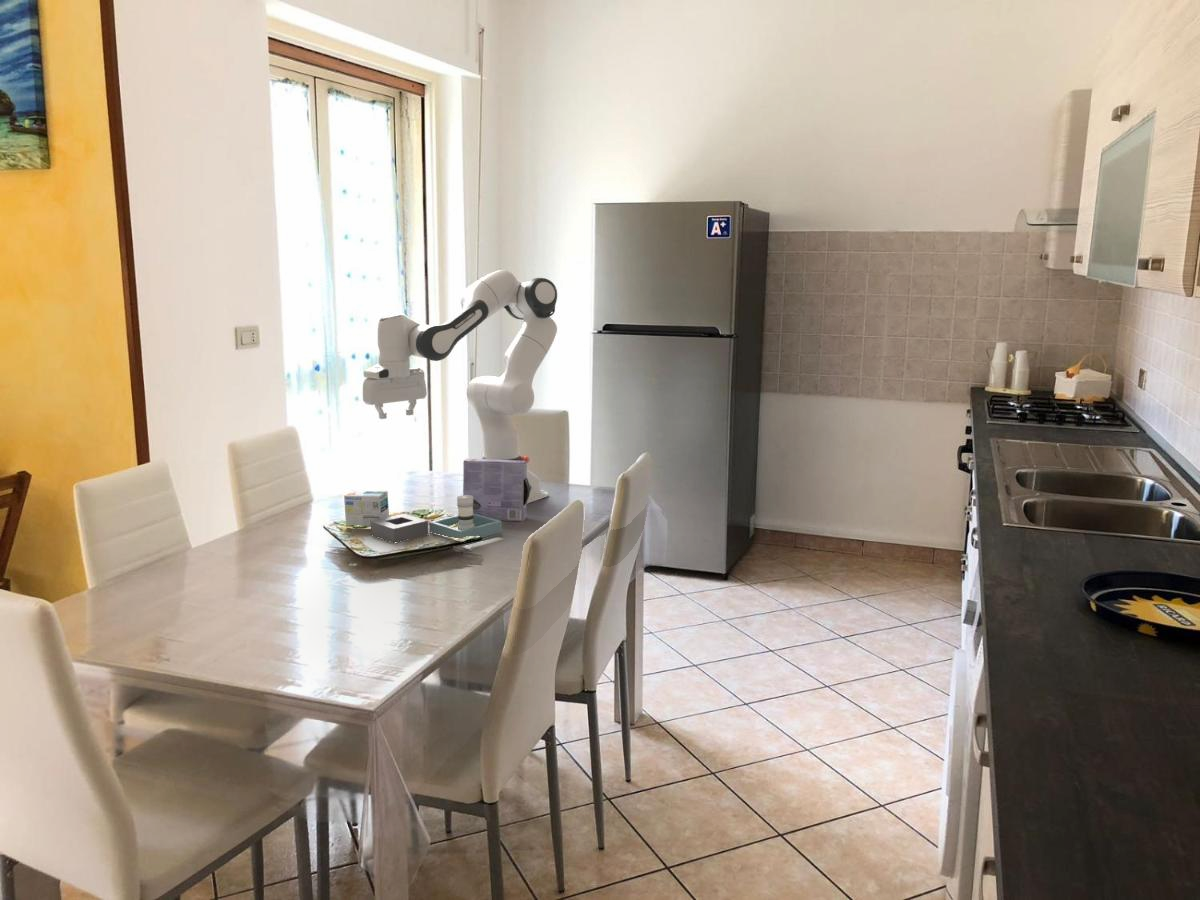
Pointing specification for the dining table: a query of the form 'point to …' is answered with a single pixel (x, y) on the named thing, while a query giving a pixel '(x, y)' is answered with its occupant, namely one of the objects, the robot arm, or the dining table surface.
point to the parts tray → (481, 528)
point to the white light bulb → (465, 512)
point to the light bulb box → (365, 507)
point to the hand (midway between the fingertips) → (396, 416)
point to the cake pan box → (497, 488)
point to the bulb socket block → (399, 527)
